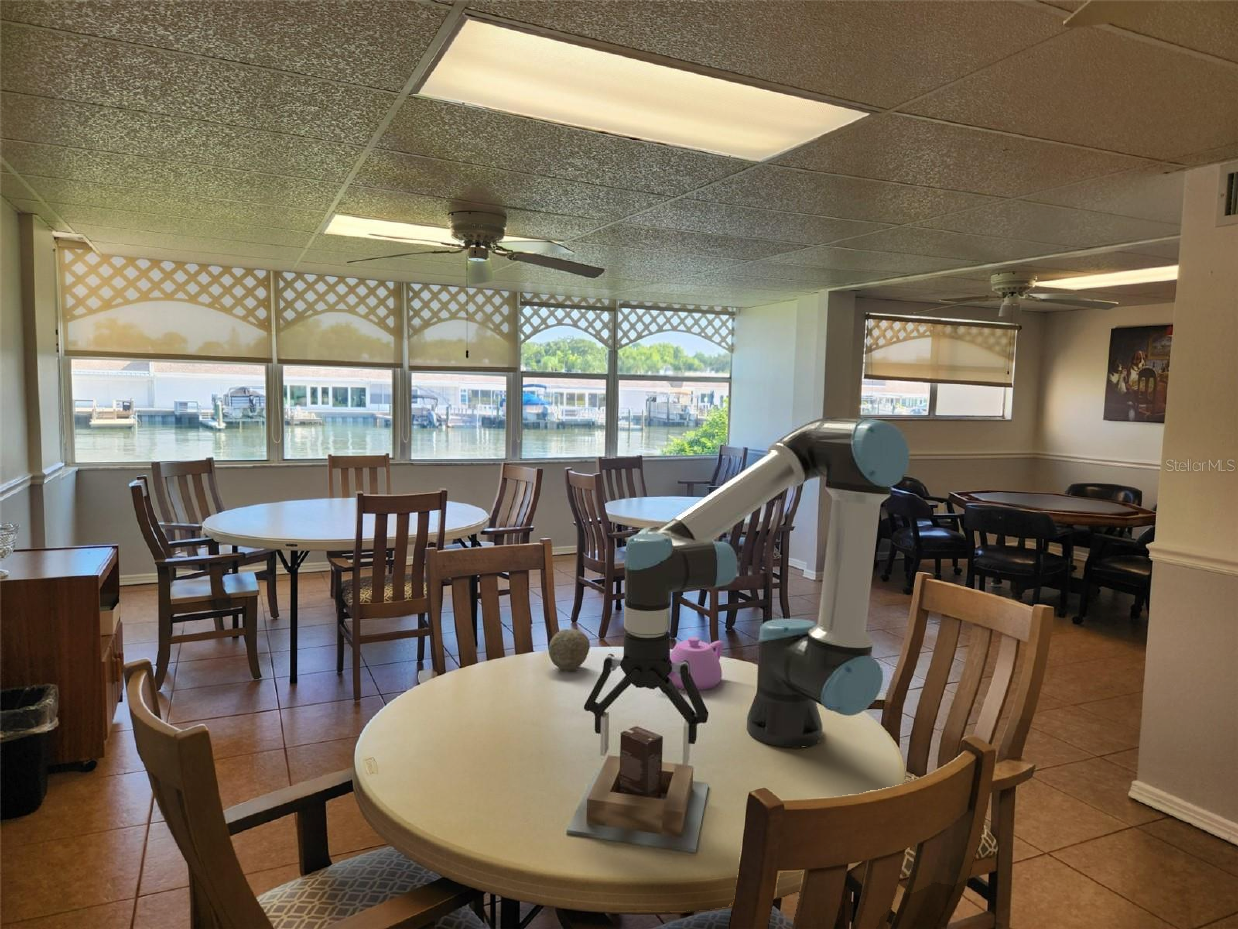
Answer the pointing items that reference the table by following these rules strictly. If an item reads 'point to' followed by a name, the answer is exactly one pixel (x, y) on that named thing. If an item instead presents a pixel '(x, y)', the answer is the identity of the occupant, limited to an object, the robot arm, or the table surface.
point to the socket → (643, 809)
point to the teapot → (698, 662)
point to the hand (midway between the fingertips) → (644, 757)
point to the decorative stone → (569, 649)
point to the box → (640, 763)
